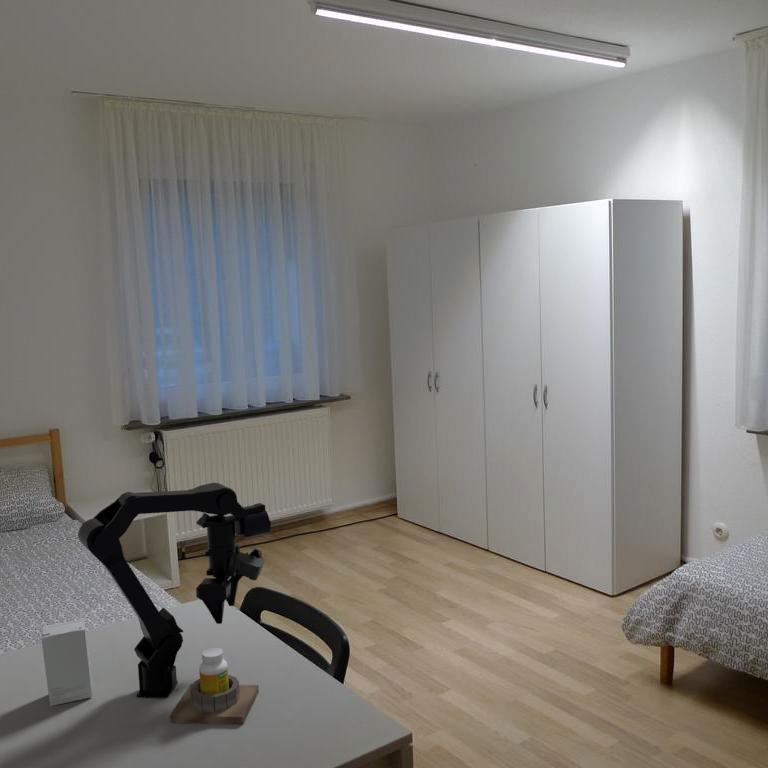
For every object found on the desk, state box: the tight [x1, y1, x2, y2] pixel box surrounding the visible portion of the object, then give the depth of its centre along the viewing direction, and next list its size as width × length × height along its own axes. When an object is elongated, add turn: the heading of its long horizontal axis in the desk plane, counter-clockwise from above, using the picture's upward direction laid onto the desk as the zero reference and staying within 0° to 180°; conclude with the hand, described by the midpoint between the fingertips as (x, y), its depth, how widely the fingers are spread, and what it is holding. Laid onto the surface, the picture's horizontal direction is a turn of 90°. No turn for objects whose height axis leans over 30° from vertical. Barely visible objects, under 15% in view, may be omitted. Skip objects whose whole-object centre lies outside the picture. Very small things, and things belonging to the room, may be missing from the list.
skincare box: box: [40, 618, 93, 707], centre depth 163 cm, size 8×6×15 cm
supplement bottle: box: [198, 647, 229, 694], centre depth 157 cm, size 5×5×10 cm
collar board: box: [169, 674, 260, 726], centre depth 157 cm, size 14×12×4 cm
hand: (225, 614), depth 172 cm, fingers open, 9 cm apart
